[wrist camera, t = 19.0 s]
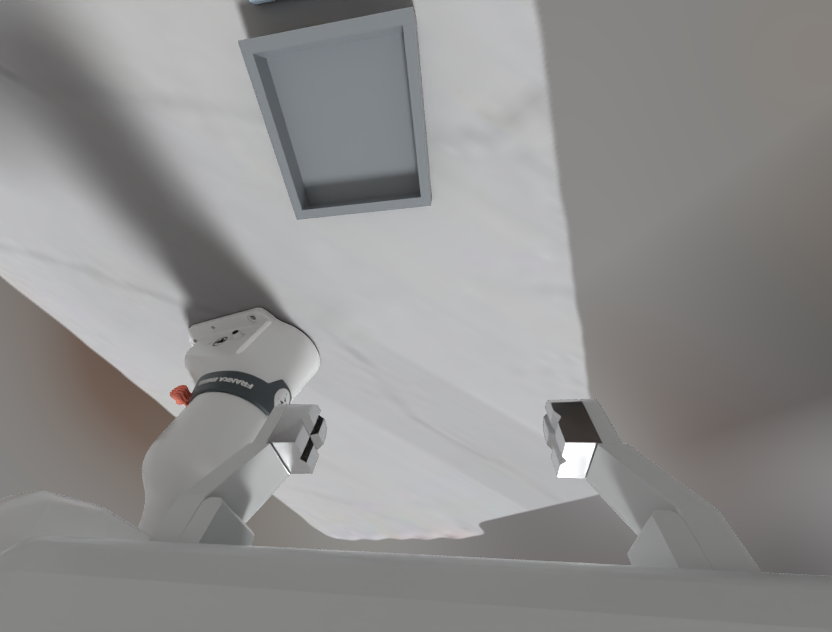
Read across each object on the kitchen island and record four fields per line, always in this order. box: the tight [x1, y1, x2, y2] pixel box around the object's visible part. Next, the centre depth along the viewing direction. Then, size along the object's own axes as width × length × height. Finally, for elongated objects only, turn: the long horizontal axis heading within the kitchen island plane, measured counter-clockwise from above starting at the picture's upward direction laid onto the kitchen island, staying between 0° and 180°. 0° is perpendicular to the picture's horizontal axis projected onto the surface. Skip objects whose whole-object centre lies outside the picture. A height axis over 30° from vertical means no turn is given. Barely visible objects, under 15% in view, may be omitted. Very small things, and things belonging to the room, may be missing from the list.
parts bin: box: [238, 6, 432, 220], centre depth 32 cm, size 16×16×4 cm
